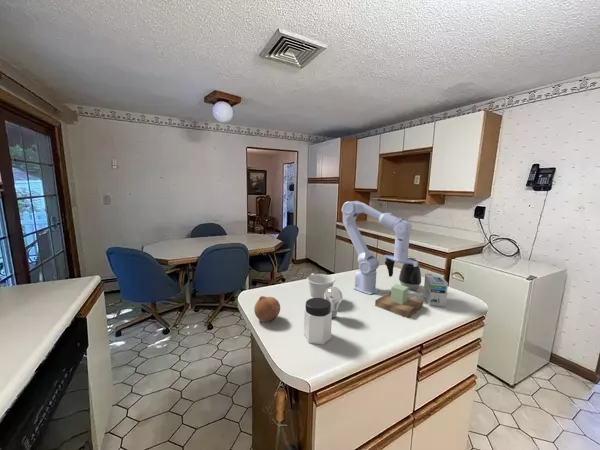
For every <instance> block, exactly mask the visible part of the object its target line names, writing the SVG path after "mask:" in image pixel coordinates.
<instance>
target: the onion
mask: <svg viewBox="0 0 600 450" xmlns="http://www.w3.org/2000/svg"><path fill="white" fill-rule="evenodd" d="M280 311H281V304H280V302H279V300H278V299H276V298H275V297H273V296H264V295H262V296H261V295H260V297H259V299H258V300H257V301H256V303H255V305H254V308H253V312H254V314H255V317H256V318H257V320H259V321H260V322H261V321H262V322H264V323H265V322H266V323H268V322H269V323H272V322H273V321H276V319H277V318H278V316H279V315H280Z"/></svg>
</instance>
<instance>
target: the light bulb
mask: <svg viewBox="0 0 600 450" xmlns="http://www.w3.org/2000/svg"><path fill="white" fill-rule="evenodd" d="M342 293H343V292H342V291H341V290H340V288H338V287H337V286H333V287H329V288H327V289H326V291H325V293H324V299H326V300H328V301H329V302H330V303H331V312H332V318H335V317H336V316H337V314H338V309H339V306H340V304H341V303H342V301H343V294H342Z"/></svg>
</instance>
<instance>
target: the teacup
mask: <svg viewBox="0 0 600 450" xmlns="http://www.w3.org/2000/svg"><path fill="white" fill-rule="evenodd" d="M306 280H307V282H308V286H309V293H310V296H311V298H323V299H324V293H325V291H326V289H327V288H329V287H334V283H335V282H336V278H335V277H334V276H332V275H330V274H329V275H328V274H325V273H311V274H310V275H309V276H307V278H306Z"/></svg>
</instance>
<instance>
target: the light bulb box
mask: <svg viewBox="0 0 600 450" xmlns="http://www.w3.org/2000/svg"><path fill="white" fill-rule="evenodd" d="M448 286H449V282H448V281H447V280H446V279H444V278H443V276H442V275H441V274H437V273H435V274H433V273H425V274H424V284H423V297H424V299H425V301H426V302H427V304H428V305H429V306H438V307H445V308H446V307H447V295H448V288H449V287H448Z"/></svg>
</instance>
